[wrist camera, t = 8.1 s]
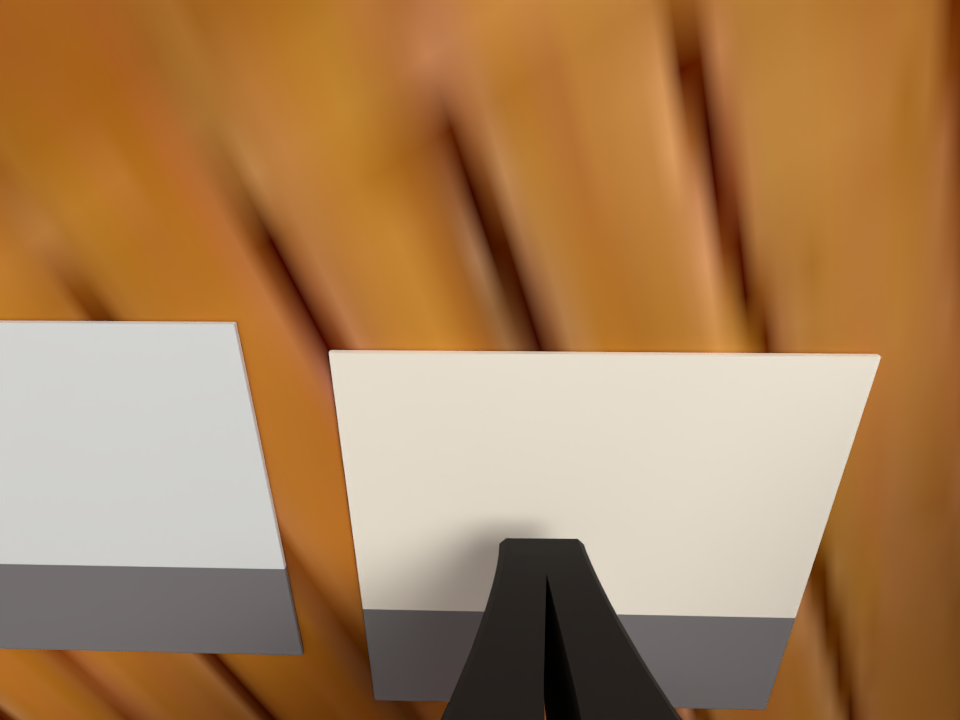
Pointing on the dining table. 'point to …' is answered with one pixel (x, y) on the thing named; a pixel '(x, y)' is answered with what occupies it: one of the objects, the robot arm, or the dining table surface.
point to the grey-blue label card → (136, 493)
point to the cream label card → (595, 498)
